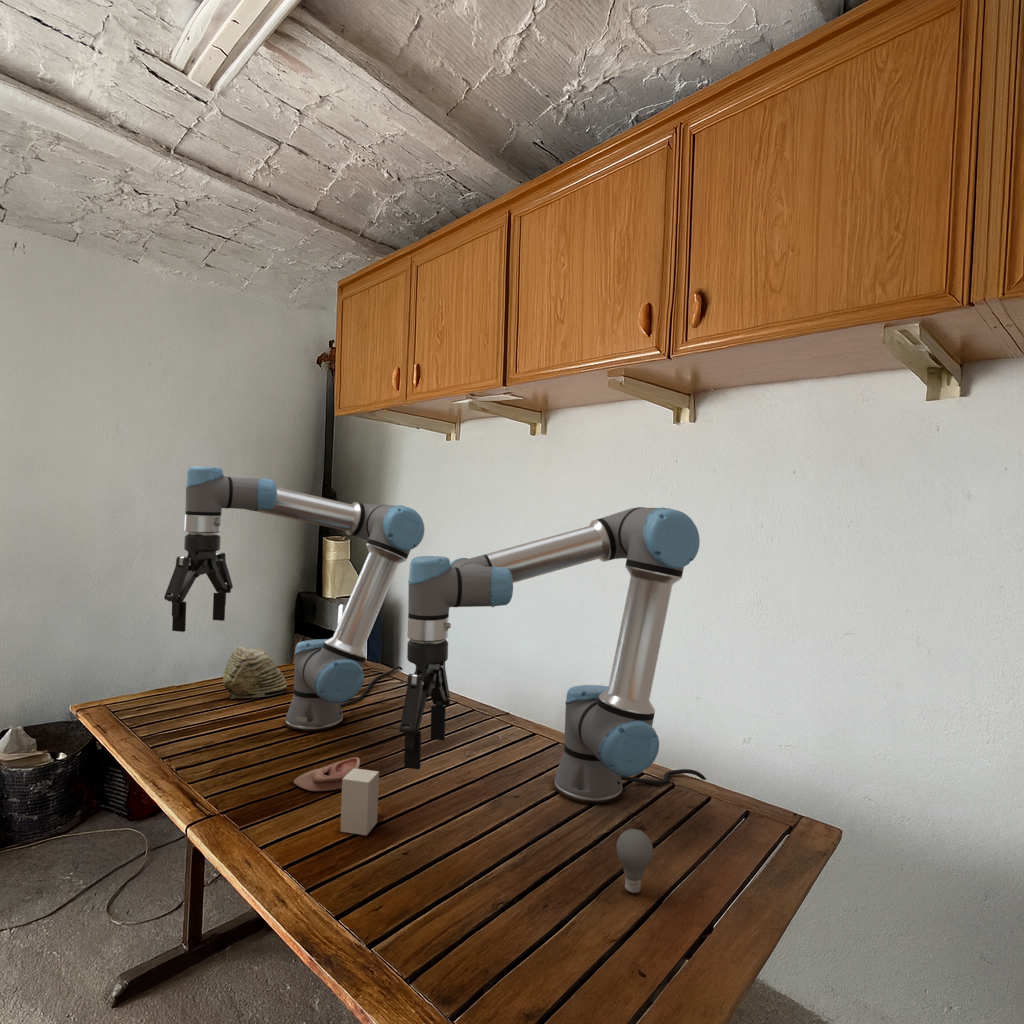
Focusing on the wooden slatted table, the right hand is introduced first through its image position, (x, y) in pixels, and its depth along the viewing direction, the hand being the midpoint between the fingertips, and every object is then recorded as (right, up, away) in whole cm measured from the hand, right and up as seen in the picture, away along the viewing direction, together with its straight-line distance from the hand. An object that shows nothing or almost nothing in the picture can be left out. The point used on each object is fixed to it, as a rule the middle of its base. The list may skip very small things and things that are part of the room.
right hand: (425, 753), depth 118 cm
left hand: (-56, +19, +28) cm, 65 cm away
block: (-13, -16, +4) cm, 21 cm away
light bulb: (+36, -18, -12) cm, 43 cm away
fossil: (-65, -12, +80) cm, 103 cm away
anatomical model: (-25, -15, +23) cm, 37 cm away
